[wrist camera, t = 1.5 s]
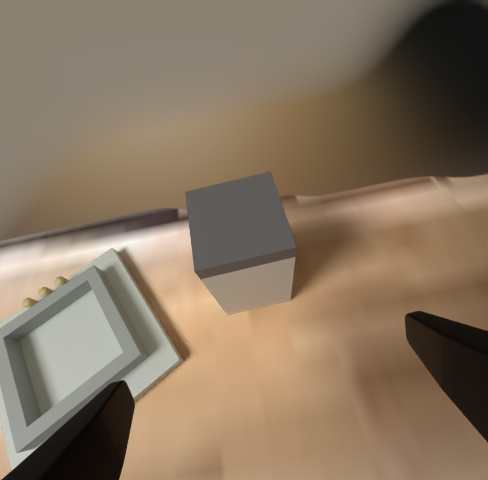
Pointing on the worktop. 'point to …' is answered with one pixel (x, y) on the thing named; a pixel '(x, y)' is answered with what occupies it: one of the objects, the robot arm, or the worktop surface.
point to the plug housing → (242, 243)
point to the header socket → (77, 351)
